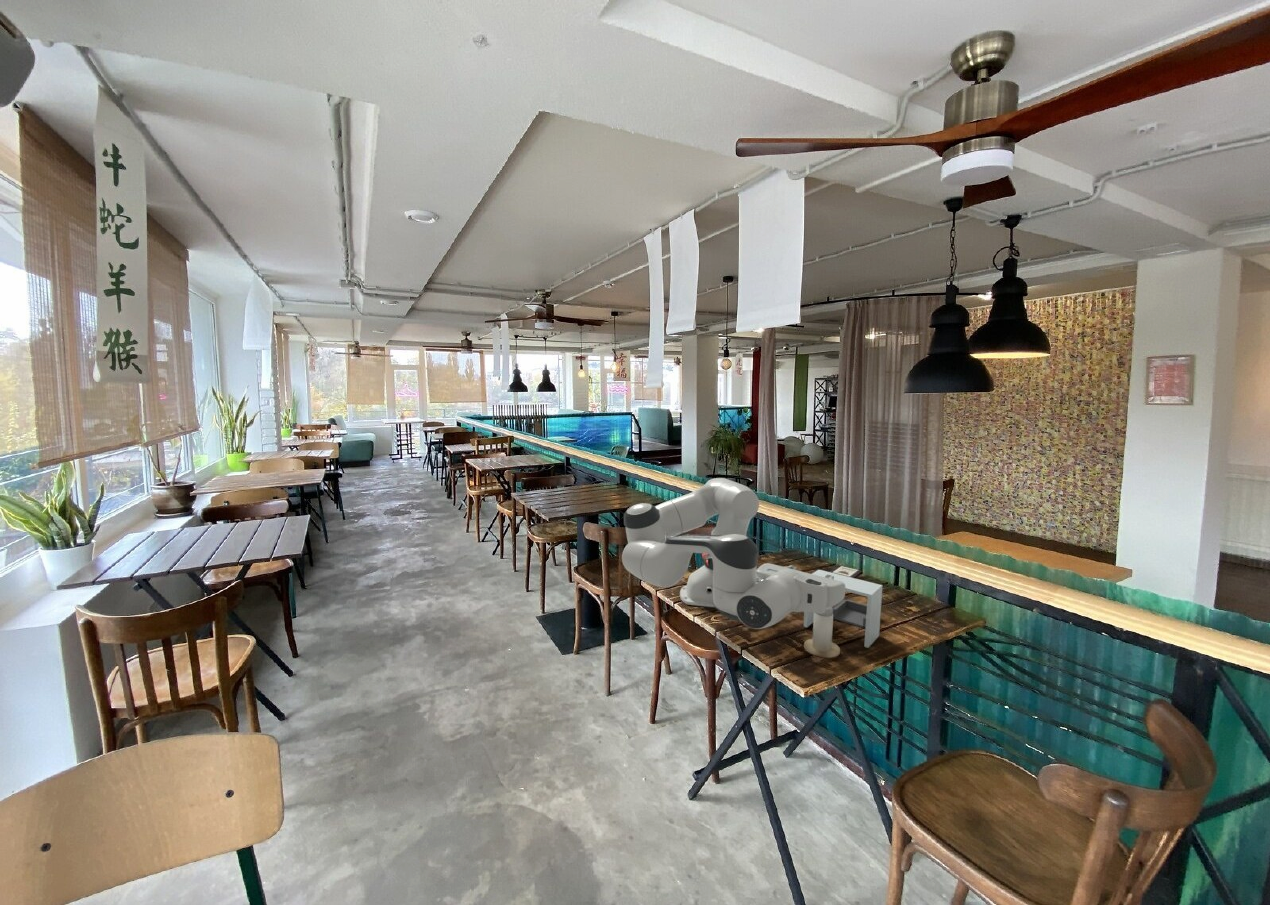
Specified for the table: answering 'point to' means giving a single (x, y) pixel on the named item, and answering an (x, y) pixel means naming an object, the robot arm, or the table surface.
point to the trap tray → (851, 613)
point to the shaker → (823, 630)
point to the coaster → (828, 654)
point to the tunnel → (873, 603)
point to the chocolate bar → (845, 571)
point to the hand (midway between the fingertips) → (811, 573)
